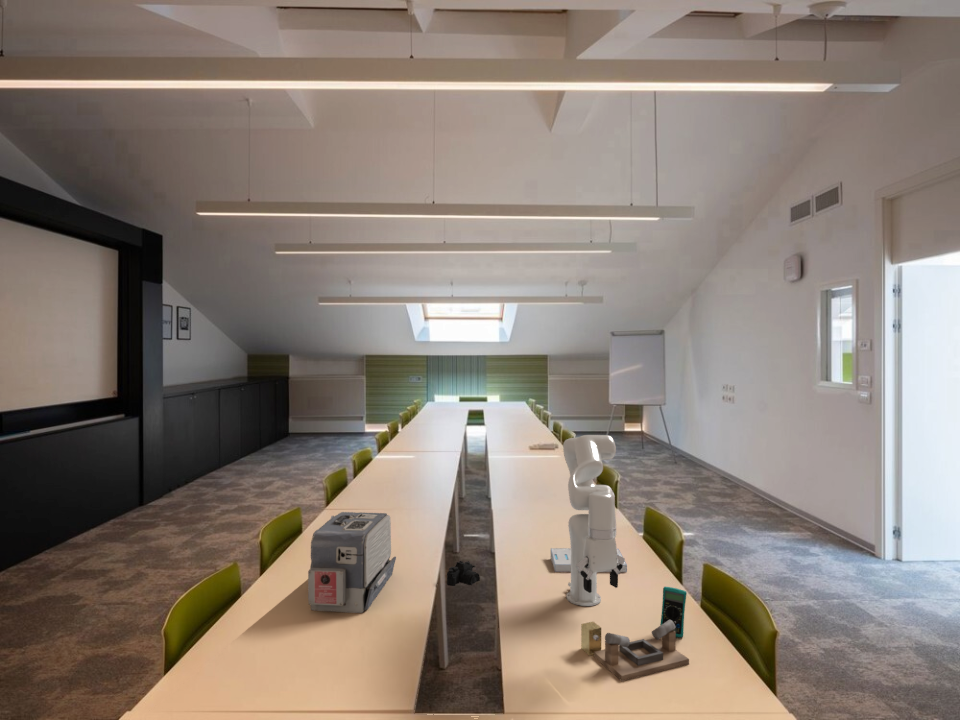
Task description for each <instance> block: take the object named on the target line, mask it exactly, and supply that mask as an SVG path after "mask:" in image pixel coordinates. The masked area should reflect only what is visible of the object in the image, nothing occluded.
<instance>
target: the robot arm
mask: <svg viewBox="0 0 960 720" xmlns="http://www.w3.org/2000/svg"><path fill="white" fill-rule="evenodd" d="M562 447H563V448H562V449H563V451H562V452H563V456H564V457H563V458H564V460H565V463H566V465H567V468H568V470H569V471H568V472H569V478H568V484H567V488H568V489H567V490H568V496H569V497H568V498H569V503H570V506H571V507H572V508H573V509H574V510H576V511H588V513H577V514H574V515H572V516H571V517H569V519H568V522H567V523H568V525H567V526H568V527H567V528H568V533H569V543H570V548H571V572H570V582H568V583H567V586H568V587H569V589H570V590H569V592H567V593H566V600H567V601H568V602H570V603H571V604H573V605H575V606H580V607H592V606H596V605H597V606H598V604H600V603H601V601H602V597H601V595H600V594H599V593H598V592H597V588H598V585H597V584H598V583H597V579H598V578H597V575H598V573H603V572H602V571H607V570H611V571H612V572H609V585H610V586H612V587H614V588H615V589H617V588H618V587H619V586H618V585H619V575H620V573H621V572H620V570H621V569H622V567H623V563H624V561H625V562H626V559H625V557H624V556H623V557H621V556H619V555H617V549H618V548H617V543H616V542H617V541H616V537H617V517H616V505H615V504H616V503H615V502H616V500H615V499H616V498H615V497H616V496H615V493H614V490H612V489H613V488H611V487H610V486H609V485H607V484H595V483H594V480H593V479H595V478H598V477H599V476H600V475H601V474H603V473H602V472H603V471H604V464H603V461H608V460H612V459H613V458H615V456H616V452H617V447H616V442H615V440H614V438H613V437H612V436H611V435H608V434H584V435H581V436H578V437H571V438H570V437H569V438H568V439H567V438H566V439H565V440H564V442H563V446H562ZM617 559H618V563H617Z"/></svg>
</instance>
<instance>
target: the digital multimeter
mask: <svg viewBox="0 0 960 720" xmlns="http://www.w3.org/2000/svg"><path fill="white" fill-rule="evenodd" d="M687 594H688V593H687V591H686V590H684V589H680V588H676V587H671V586H663V588H662V602H661V603H662V606H661V615H660V616H661V617H660V625H659V626H661V625H662V624H664V623H665V622H667V621H668V620H672V621H673V622H674V624H675V626H676V628H675V629H673V630H674V631H675V632H676V638H683V637H684V627H685V626H684V624H685V611H686V602H687Z"/></svg>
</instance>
